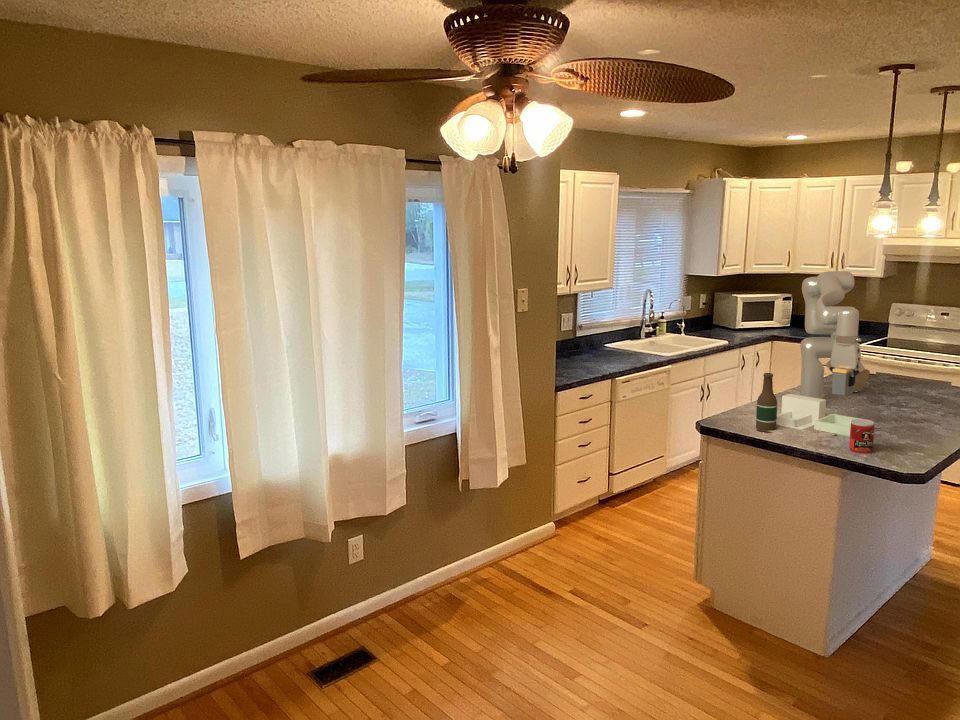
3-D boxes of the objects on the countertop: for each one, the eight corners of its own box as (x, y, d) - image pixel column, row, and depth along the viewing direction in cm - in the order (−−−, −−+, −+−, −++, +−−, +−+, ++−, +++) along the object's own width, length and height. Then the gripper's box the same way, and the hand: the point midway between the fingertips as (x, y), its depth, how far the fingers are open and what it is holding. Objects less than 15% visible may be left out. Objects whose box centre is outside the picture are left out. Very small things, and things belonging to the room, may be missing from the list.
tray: (832, 424, 288) (832, 413, 287) (867, 430, 277) (868, 419, 277) (813, 431, 278) (814, 420, 277) (849, 438, 267) (850, 427, 267)
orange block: (841, 390, 280) (843, 366, 278) (855, 392, 276) (856, 367, 274) (831, 393, 274) (832, 369, 272) (844, 395, 270) (846, 370, 268)
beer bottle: (780, 431, 280) (783, 373, 276) (767, 434, 276) (770, 376, 272) (764, 426, 287) (766, 370, 283) (751, 430, 283) (753, 373, 279)
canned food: (853, 453, 250) (855, 424, 248) (845, 446, 258) (847, 418, 256) (876, 454, 249) (878, 424, 247) (867, 447, 256) (869, 418, 255)
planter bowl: (825, 390, 348) (826, 369, 346) (845, 386, 355) (846, 365, 354) (855, 396, 334) (856, 374, 332) (875, 391, 341) (877, 370, 340)
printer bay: (788, 415, 303) (789, 393, 301) (824, 422, 290) (826, 399, 289) (764, 424, 290) (765, 401, 289) (801, 432, 278) (803, 408, 276)
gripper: (873, 341, 267) (870, 386, 270) (829, 337, 280) (826, 380, 283) (865, 343, 262) (862, 389, 265) (820, 339, 275) (817, 383, 279)
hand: (843, 384), depth 274 cm, fingers closed on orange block, 5 cm apart
